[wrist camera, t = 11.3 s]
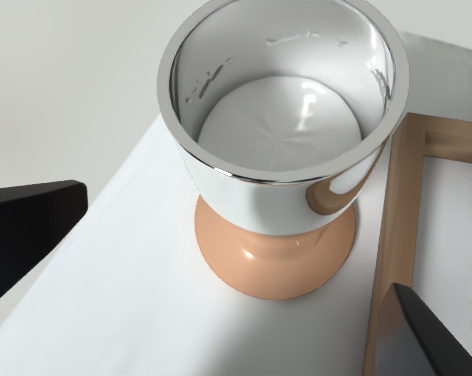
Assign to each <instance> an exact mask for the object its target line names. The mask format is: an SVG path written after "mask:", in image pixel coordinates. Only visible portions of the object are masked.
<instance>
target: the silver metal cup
mask: <svg viewBox="0 0 472 376" xmlns="http://www.w3.org/2000/svg"><path fill="white" fill-rule="evenodd" d="M409 84H410V70H409V62H408V58H407V54H406V51H405V48H404V45H403V43H402V41H401V39H400V37H399V35H398V33H397V32H396V30H395V29H394V27H393V26H392V24H391V23H390V22H389V21H388V20H387V18H386V17H385V16H383V14H382V13H381V12H380V11H379V10H377V9H376V8H375V7H374V6H372V5H371V4H370V3H368V2H367V1H365V0H211V1H209V2H207V3H206V4H204V5H203V6H202V7H200V8H199V9H198V10H196V11H195V12H194V13H193V14H192V15H191V16H189V18H187V19H186V20H185V22H184V23H183V24H182V25H181V26H180V27H179V28H178V30H177V31H176V32H175V34H174V35H173V37H172V38H171V40H170V42H169V43H168V45H167V47H166V49H165V51H164V54H163V56H162V59H161V62H160V66H159V70H158V76H157V97H158V103H159V108H160V111H161V114H162V117H163V120H164V122H165V124H166V126H167V128H168V130H169V131H170V133H171V135H172V136H173V139H174V141H175V144H176V146H177V149H178V151H179V154H180V156H181V158H182V161H183V163H184V165H185V168H186V170H187V172H188V174H189V176H190V177H191V179H192V181H193V183H194V185H195V186H196V188H197V190H198V192H199V193H200V195H201V196H202V198H203V199H204V200H205V201H206V203H207V204H208V205H209V207H210V208H211V209H212V210H213V212H214V213H215V214H216V215H217V216H218V217H219V218H220V219H221V220H223V221H224V222H225V223H226V224H228V225H229V226H231V227H232V228H233V229H234V232H235V235H236V237H237V239H238V241H239V243H240V244H241V246H242V247H243V248H244V249H245V250H246V251H247V252H248V253H249V254H251V255H252V256H254V257H255V258H257V259H260V260H262V261H265V262H269V263H287V262H291V261H294V260H296V259H299V258H300V257H302V256H304V255H305V254H306V253H308V252H309V251H310V250H311V249H312V247H313V246H314V245H315V243H316V242H317V240H318V238H319V236H320V233H321V230H323V229H324V228H326V227H327V226H329V225H330V224H331V223H333V222H334V221H335V220H337V219H338V218H339V217H340V216H341V215H342V214H343V213H344V212H345V211H346V210H347V208H348V207H349V206H350V205H351V204H352V202H353V201H354V200H355V199H356V197H357V196H358V195H359V193H360V192H361V190H362V189H363V187H364V185H365V184H366V182H367V180H368V179H369V177H370V175H371V174H372V172H373V170H374V168H375V166H376V164H377V162H378V160H379V158H380V156H381V153H382V151H383V149H384V147H385V145H386V142H387V140H388V138H389V135H390V133H391V131H392V130H393V128H394V127H395V125H396V124H397V122H398V120H399V118H400V116H401V114H402V112H403V109H404V107H405V104H406V100H407V96H408V92H409Z"/></svg>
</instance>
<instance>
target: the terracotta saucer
mask: <svg viewBox="0 0 472 376" xmlns="http://www.w3.org/2000/svg"><path fill="white" fill-rule="evenodd" d="M195 233H196V238H197V242H198V245H199V248H200V251H201V253H202V255H203V257H204V259H205V260H206V262H207V263H208V265H209V266H210V268H211V269H212V270H213V271H214V272H215V274H216V275H217V276H218V277H219V278H220V279H222V280H223V281H224V282H225V283H227V284H228V285H229V286H231V287H233V288H234V289H236V290H238V291H240V292H242V293H244V294H247V295H249V296H253V297H256V298H261V299H268V300H283V299H291V298H295V297H298V296H302V295H305V294H307V293H309V292H311V291H314V290H315V289H317V288H318V287H320V286H322V285H323V284H325V283H326V282H327V281H328V280H329V279H331V278H332V277H333V276H334V275H335V273H336V272H337V271H338V270H339V269H340V267H341V266H342V264H343V263H344V261H345V260H346V258H347V256H348V254H349V252H350V249H351V246H352V243H353V239H354V233H355V213H354V207H353V203H352V204H351V205H350V206H349V207H348V208H347V210H346V211H345V212H344V213H343V214H342V215H341V216H340V217H339V218H338V219H337V220H335V221H334V222H333V223H331V224H330V225H329V226H327V227H326V228H324V229H323V230H321V233H320V236H319V238H318V240H317V242H316V243H315V245H314V246H313V247H312V249H311V250H310V251H309V252H308V253H306V254H305V255H304V256H302V257H300V258H299V259H296V260H294V261H291V262H287V263H269V262H265V261H262V260H260V259H257V258H255V257H254V256H252V255H251V254H249V253H248V252H247V251H246V250H245V249H244V248H243V247H242V246H241V244H240V243H239V241H238V239H237V237H236V235H235V232H234V229H233V228H232V227H231V226H229V225H228V224H226V223H225V222H224V221H223V220H221V219H220V218H219V217H218V216H217V215H216V214H215V213H214V212H213V210H212V209H211V208H210V207H209V205H208V204H207V203H206V201H205V200H204V199H203V198H202V196H201V195H199V198H198V201H197V205H196V211H195Z"/></svg>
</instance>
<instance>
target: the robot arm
mask: <svg viewBox="0 0 472 376" xmlns="http://www.w3.org/2000/svg"><path fill="white" fill-rule="evenodd" d="M87 210H88V196H87V187H86V185H85V184H84V183H81V182H79V181H76V180H66V181H58V182H50V183H41V184H32V185H24V186H15V187H8V188H0V298H1V297H2V296H3V295H4V294H5V293H6V292H7V291H9V290H10V289H11V288H12V287H13V286H14V285H15V284H16V283H17V282H18V281H20V280H21V279H22V278H23V277H24V276H25V275H26V274H27V273H28V272H29V271H31V269H33V268H34V267H35V266H36V265H37V264H38V263H39V262H40V261H41V260H43V259H44V258H45V257H46V256H47V255H48V254H49V253H50V252H51V251H52V250H53V249H54V248H55V247H56V246H57V245H58V244H59V243H60V242H61V241H62V240H63V238H64V237H65V236H66V235H67V234H68V233H69V232H70V231H71V230H72V228H73V227H74V226H75V225H76V224H77V223H78V222H79V221H80V220H81V219H82V217H83V216H84V215H85V214H86V212H87ZM375 376H472V357H471V355H470V354H469V353H468V352H467V351H466V350H465V349H464V347H463V346H462V345H461V344H460V343H459V342H458V341H457V339H456V338H455V337H454V336H453V335H452V334H451V333H450V331H449V330H448V329H447V328H446V327H445V326H444V325H443V324H442V322H441V321H440V320H439V319H438V318H437V317H436V316H435V314H434V313H433V312H432V311H431V310H430V309H429V308H428V306H427V305H426V304H425V303H424V302H423V301H422V300H421V299H420V297H419V296H418V295H417V294H416V293H415V292H414V291H413V289H412V288H410V287H409V286H406V285H402V284H399V283H396V282H393V283H391V284H390V286H389V288H388V290H387V292H386V294H385V296H384V298H383V300H382V302H381V304H380V307H379V310H378V320H377V337H376V354H375Z"/></svg>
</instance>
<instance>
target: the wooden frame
mask: <svg viewBox="0 0 472 376" xmlns="http://www.w3.org/2000/svg"><path fill="white" fill-rule="evenodd" d="M424 155H427V156H432V157H438V158H444V159H449V160H455V161H461V162H466V163H472V122H468V121H461V120H455V119H448V118H442V117H435V116H429V115H422V114H416V113H409V112H408V113H407V114H406V116H405V117H404V119H403V120H402V122H401V123H400V125H399V127H398V128H397V130H396V131H395V133H394V134H393V137H392V145H391V153H390V160H389V168H388V176H387V184H386V192H385V199H384V207H383V215H382V223H381V230H380V238H379V246H378V254H377V261H376V269H375V277H374V285H373V292H372V300H371V308H370V316H369V323H368V331H367V339H366V347H365V355H364V362H363V370H362V376H375V354H376V337H377V320H378V310H379V307H380V304H381V302H382V300H383V298H384V296H385V294H386V292H387V290H388V288H389V286H390V284H391V283H393V282H396V283H399V284H402V285H406V286H409V287H410V288H412V277H413V266H414V256H415V245H416V234H417V223H418V212H419V201H420V190H421V180H422V169H423V158H424Z"/></svg>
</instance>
